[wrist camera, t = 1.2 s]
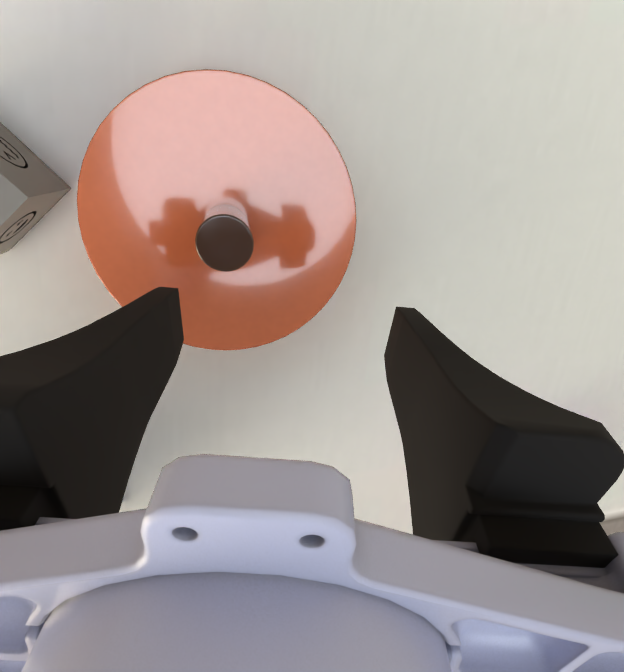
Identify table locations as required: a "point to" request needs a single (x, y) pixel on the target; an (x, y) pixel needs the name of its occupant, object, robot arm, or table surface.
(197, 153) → the lid
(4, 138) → the dice cube
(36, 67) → the table surface
